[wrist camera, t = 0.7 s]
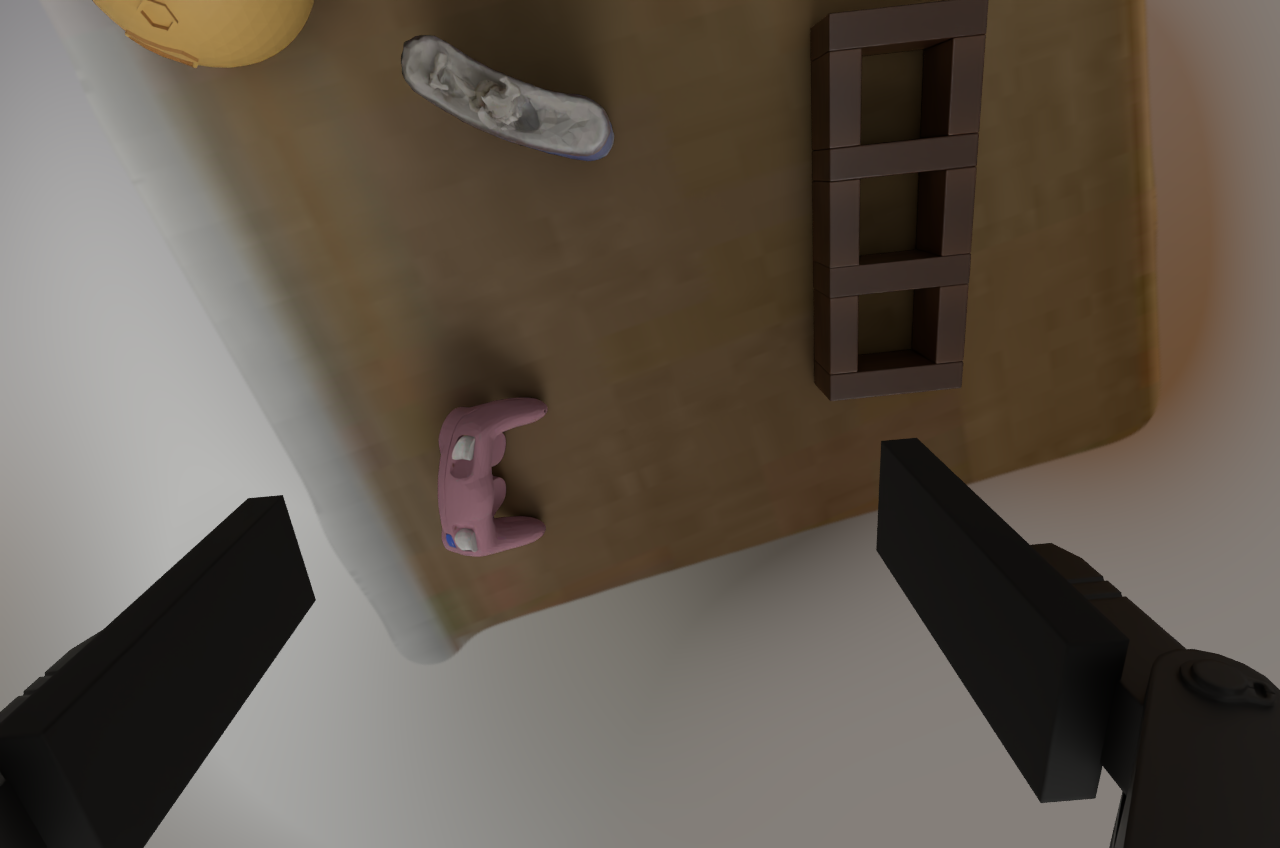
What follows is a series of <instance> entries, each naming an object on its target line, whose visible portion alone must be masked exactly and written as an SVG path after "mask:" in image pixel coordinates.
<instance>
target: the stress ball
mask: <svg viewBox="0 0 1280 848" xmlns="http://www.w3.org/2000/svg"><path fill="white" fill-rule="evenodd" d="M93 2H94V3H95V4H96V5H97V6H98V7H99V8H100V9H101V10H102V11H103V12H104V13H105V14H106V15H107V16H108V17H109V18H110V19H112V20H113V21H114V22H115V23H116V24H118V25H119V26H120V27H121V28H122V29H124V30H125V31H126V32H125V35H126V36H127V37H129V38H130V39H132V40H133V41H135V42H136V43H138V44H140V45H141V46H143V47H144V48H146V49H148V50H150V51H152V52H154V53H157V54H159V55H161V56H163V57H166V58H169V59H172V60H175V61H178V62H181V63H184V64H187V65H189V66H192V67H193V68H197V66H198V65H201V66H208V67H222V68H233V67H239V66H246V65H250V64H254V63H258V62H262V61H264V60H266V59H268V58H270V57H272V56H274V55H276V54H277V53H278V52H280V51H281V50H283V49H284V48H285V47H287V46H288V45H289V44H290V43H291V42H292V41H293V40H294V39H295V38H296V36H297V35H298V34H299V32H300V31H301V30H302V28H303V26H304V25H305V23H306V21H307V19H308V17H309V15H310V12H311V9H312V6H313V4H314V0H93Z"/></svg>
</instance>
